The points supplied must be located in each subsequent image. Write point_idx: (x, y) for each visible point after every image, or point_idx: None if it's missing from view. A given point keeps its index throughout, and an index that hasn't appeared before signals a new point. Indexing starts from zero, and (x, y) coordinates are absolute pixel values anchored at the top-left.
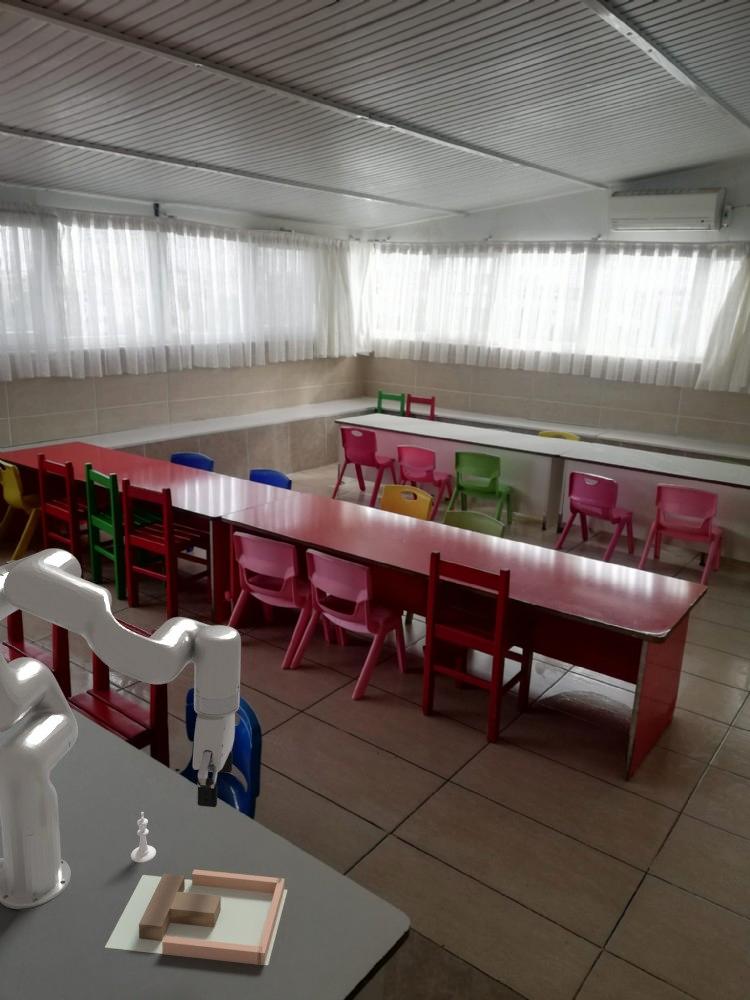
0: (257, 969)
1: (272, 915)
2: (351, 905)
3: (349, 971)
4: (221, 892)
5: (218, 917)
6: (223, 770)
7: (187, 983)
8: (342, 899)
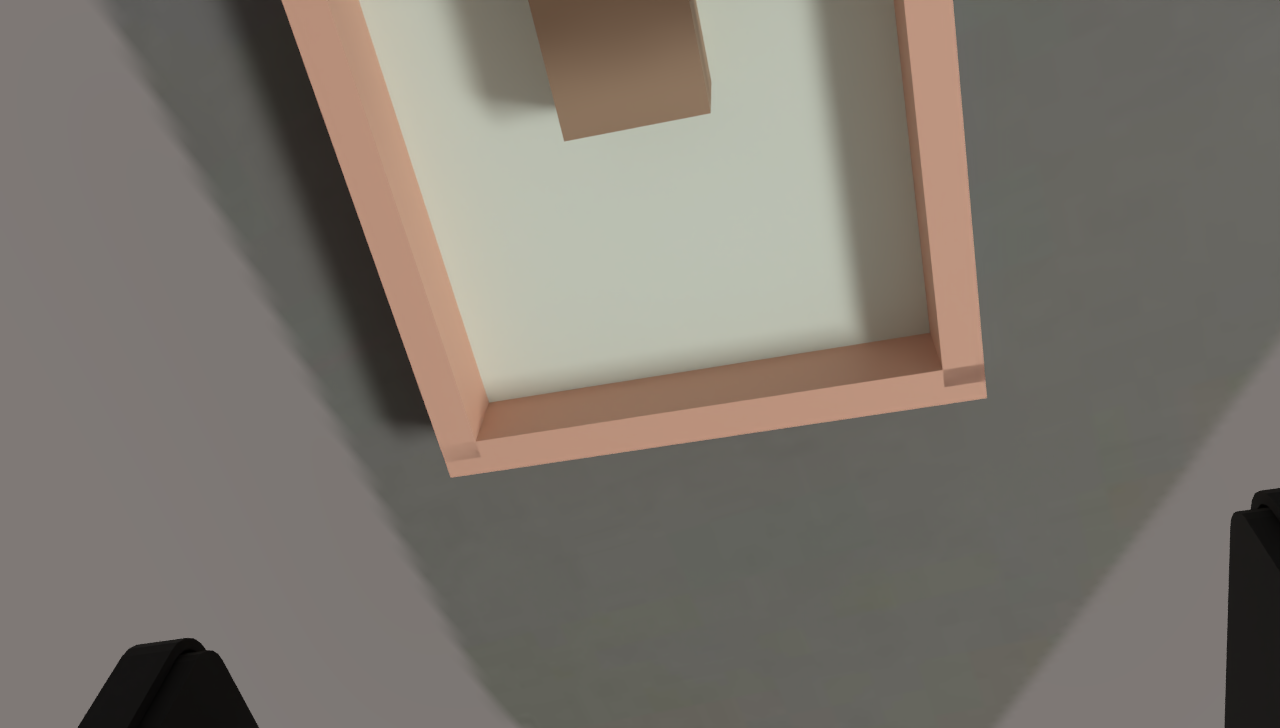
0: None
1: (690, 431)
2: (954, 652)
3: (595, 716)
4: (852, 17)
5: None
6: (1243, 680)
7: (223, 131)
8: (984, 611)
